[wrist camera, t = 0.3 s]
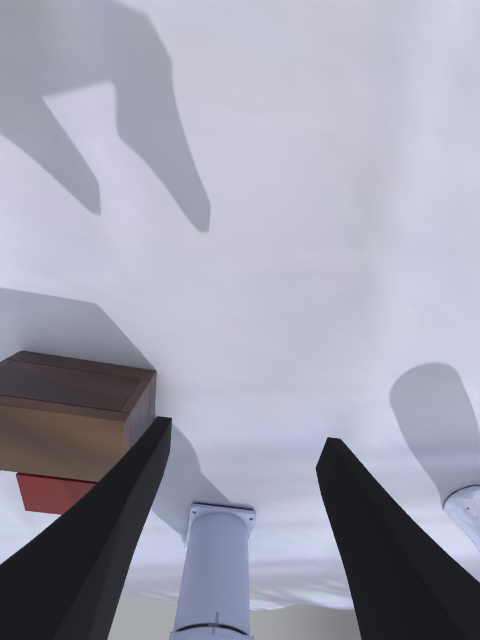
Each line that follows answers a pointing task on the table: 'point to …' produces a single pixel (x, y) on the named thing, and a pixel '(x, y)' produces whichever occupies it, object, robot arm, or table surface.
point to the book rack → (70, 414)
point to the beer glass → (466, 512)
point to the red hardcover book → (51, 492)
